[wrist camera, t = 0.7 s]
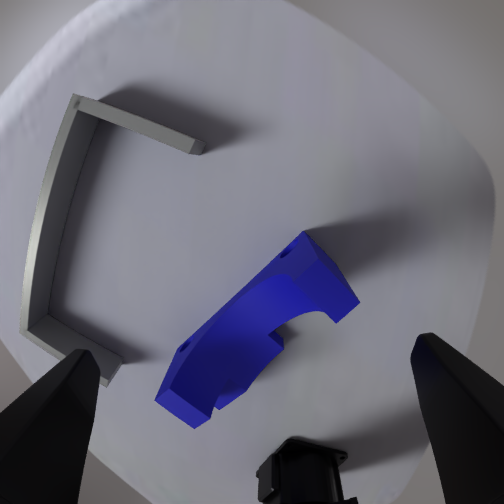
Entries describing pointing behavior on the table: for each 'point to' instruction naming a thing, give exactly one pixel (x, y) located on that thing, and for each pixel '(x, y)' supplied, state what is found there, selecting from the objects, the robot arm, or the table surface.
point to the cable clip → (252, 330)
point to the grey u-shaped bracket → (54, 217)
